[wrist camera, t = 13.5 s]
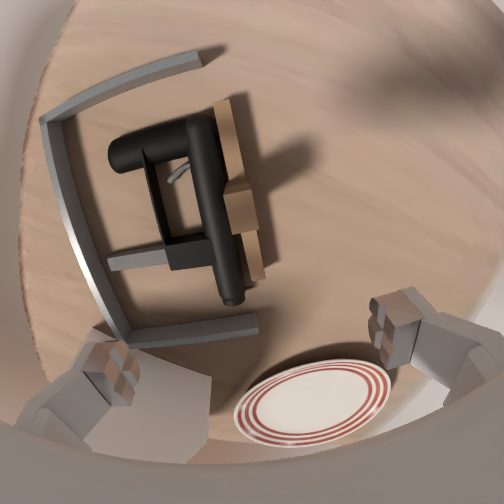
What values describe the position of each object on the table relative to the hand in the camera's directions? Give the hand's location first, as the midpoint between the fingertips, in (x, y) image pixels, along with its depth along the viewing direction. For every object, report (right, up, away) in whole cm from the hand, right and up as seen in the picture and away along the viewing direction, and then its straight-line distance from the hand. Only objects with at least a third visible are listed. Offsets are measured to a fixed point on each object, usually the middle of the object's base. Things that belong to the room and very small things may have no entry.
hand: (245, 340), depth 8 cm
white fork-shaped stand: (-18, -18, +30) cm, 39 cm away
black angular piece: (-9, +6, +20) cm, 23 cm away
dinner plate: (+11, -23, +34) cm, 42 cm away
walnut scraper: (-1, +9, +19) cm, 21 cm away
